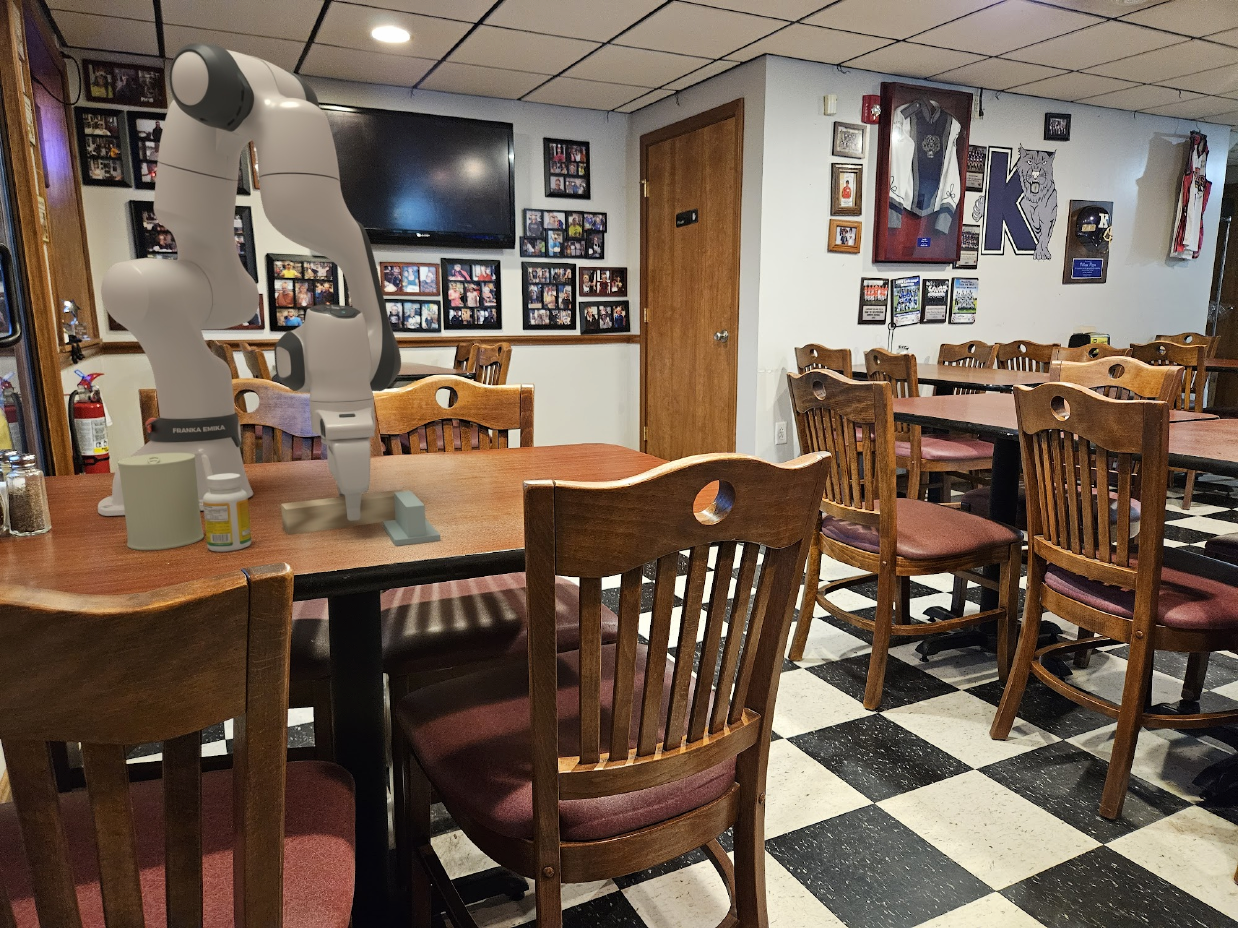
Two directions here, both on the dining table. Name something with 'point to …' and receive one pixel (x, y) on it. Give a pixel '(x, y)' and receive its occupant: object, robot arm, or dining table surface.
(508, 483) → the dining table surface
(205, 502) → the supplement bottle
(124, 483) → the can
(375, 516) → the plank
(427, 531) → the ridge
